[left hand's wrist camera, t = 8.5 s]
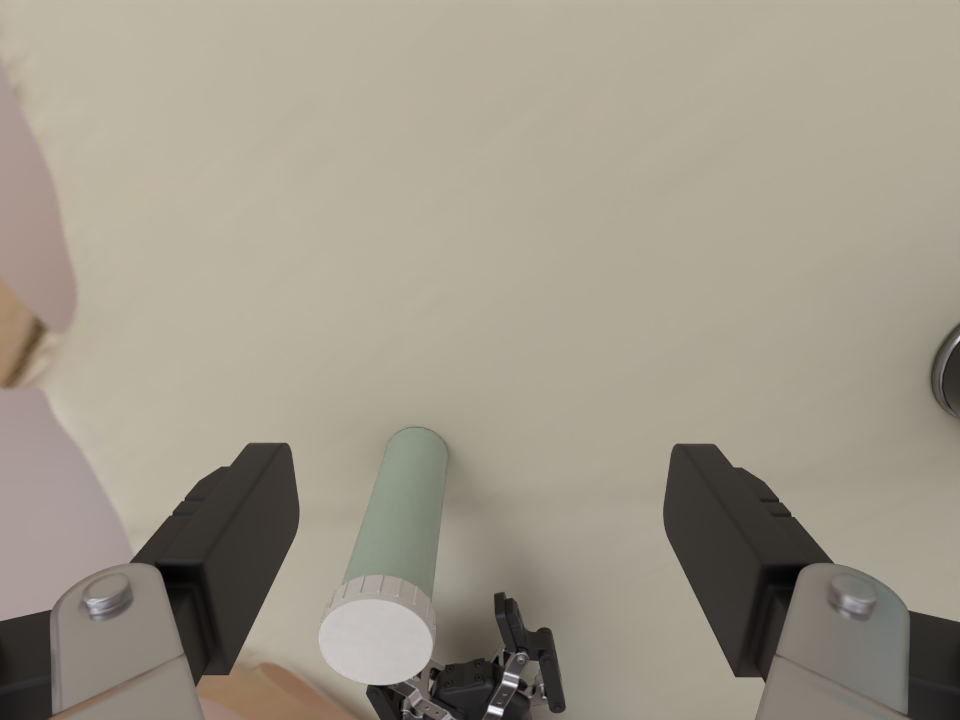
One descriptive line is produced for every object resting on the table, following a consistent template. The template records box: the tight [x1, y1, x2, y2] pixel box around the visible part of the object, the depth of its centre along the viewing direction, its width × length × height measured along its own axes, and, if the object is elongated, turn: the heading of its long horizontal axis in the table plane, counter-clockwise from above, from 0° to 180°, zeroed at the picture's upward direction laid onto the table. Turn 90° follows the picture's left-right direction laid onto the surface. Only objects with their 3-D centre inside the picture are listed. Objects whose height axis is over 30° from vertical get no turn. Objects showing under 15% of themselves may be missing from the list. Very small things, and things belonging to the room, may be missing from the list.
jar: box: [341, 427, 448, 602], centre depth 34 cm, size 5×5×17 cm
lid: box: [318, 574, 437, 685], centre depth 26 cm, size 6×6×2 cm
